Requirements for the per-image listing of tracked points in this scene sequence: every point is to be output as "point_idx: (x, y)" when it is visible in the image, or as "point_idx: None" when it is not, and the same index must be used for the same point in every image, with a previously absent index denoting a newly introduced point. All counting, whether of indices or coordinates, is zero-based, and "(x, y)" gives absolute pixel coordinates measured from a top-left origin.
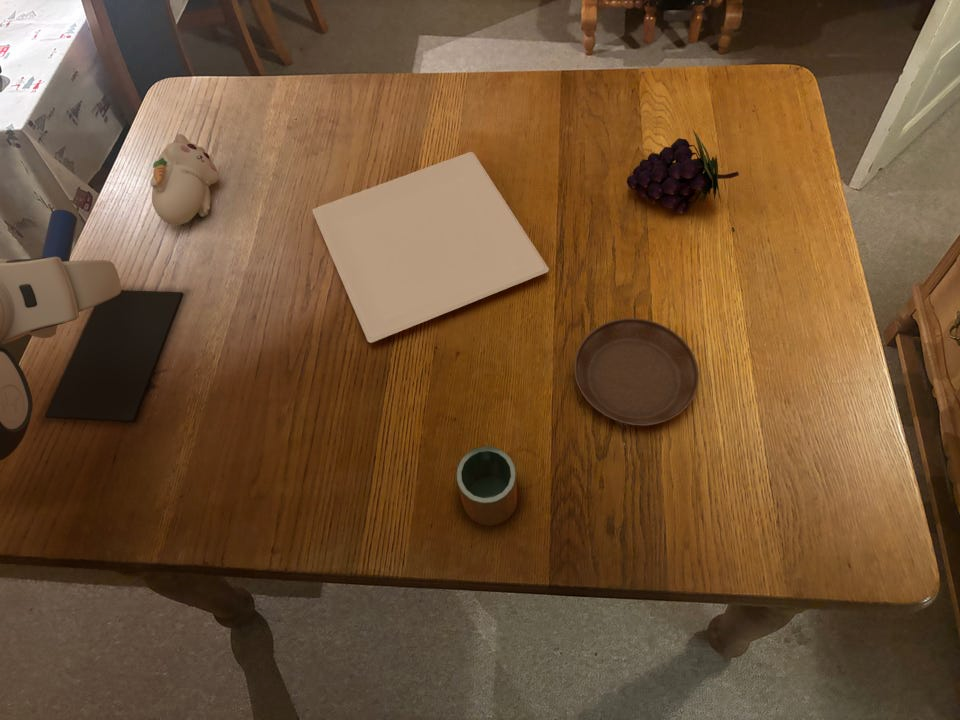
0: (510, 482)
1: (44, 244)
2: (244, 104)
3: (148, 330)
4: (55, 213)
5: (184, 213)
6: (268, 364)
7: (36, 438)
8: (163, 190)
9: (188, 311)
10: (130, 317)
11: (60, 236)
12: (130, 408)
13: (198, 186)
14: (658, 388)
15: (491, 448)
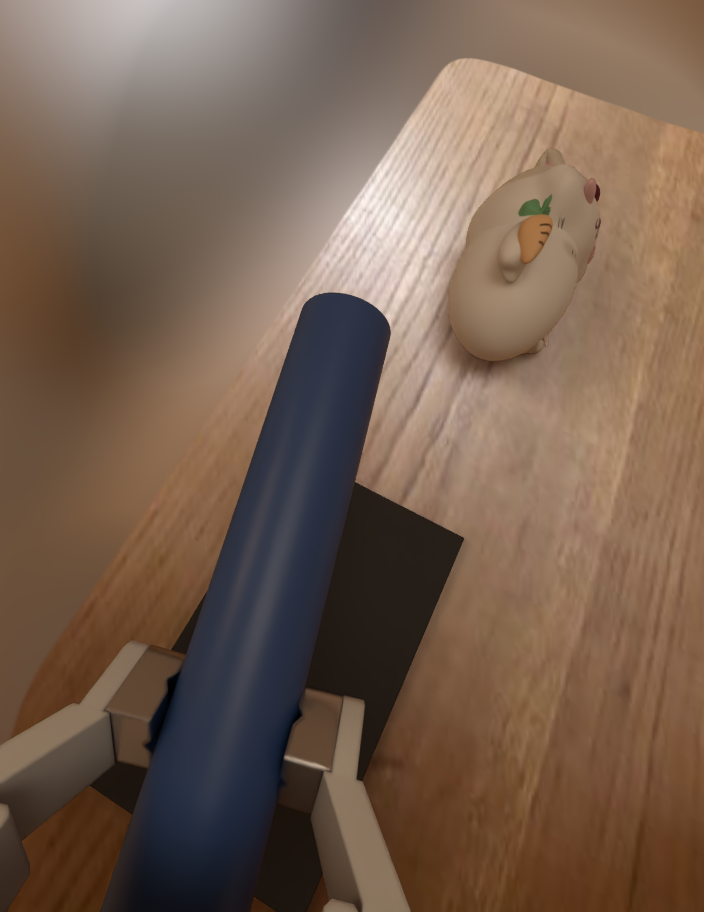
0: None
1: (261, 463)
2: (607, 137)
3: (377, 619)
4: (336, 310)
5: (521, 348)
6: (662, 879)
7: (54, 842)
8: (514, 281)
9: (468, 596)
10: (341, 559)
11: (340, 446)
12: (300, 875)
13: (572, 295)
14: None
15: None
